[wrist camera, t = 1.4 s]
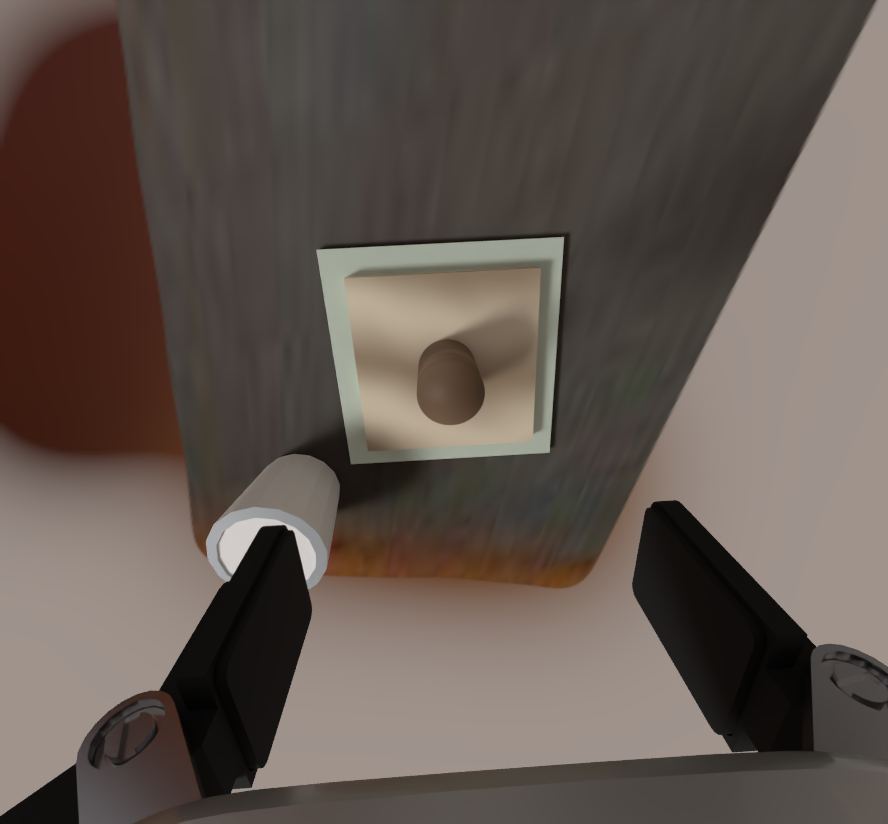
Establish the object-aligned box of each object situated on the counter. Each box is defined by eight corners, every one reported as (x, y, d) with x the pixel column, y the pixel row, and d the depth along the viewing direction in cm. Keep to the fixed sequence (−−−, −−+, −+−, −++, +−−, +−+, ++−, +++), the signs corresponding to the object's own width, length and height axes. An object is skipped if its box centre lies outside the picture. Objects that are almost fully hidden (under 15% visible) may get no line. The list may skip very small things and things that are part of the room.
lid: (346, 276, 23) (324, 288, 18) (536, 266, 24) (566, 275, 19) (369, 444, 28) (357, 490, 23) (529, 434, 28) (551, 478, 23)
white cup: (261, 434, 28) (212, 494, 22) (359, 461, 29) (340, 526, 23) (246, 511, 30) (197, 586, 24) (336, 533, 32) (313, 610, 25)
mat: (318, 249, 23) (316, 249, 23) (561, 237, 24) (564, 237, 23) (352, 460, 29) (351, 464, 29) (547, 449, 29) (549, 452, 29)
